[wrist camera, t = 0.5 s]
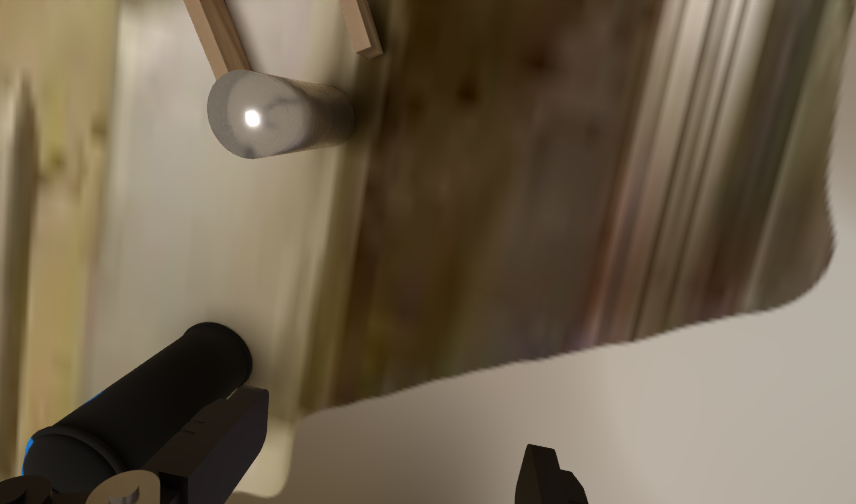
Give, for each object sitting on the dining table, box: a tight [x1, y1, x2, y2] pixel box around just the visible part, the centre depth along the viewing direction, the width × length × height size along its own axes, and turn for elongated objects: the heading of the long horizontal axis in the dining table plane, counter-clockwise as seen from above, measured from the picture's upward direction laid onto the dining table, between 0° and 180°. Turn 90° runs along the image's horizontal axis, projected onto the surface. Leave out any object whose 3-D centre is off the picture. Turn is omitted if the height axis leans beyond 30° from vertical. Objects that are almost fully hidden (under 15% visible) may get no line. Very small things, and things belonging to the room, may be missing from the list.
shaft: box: [207, 70, 355, 159], centre depth 29 cm, size 5×5×12 cm
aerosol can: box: [22, 323, 252, 494], centre depth 35 cm, size 8×8×20 cm
